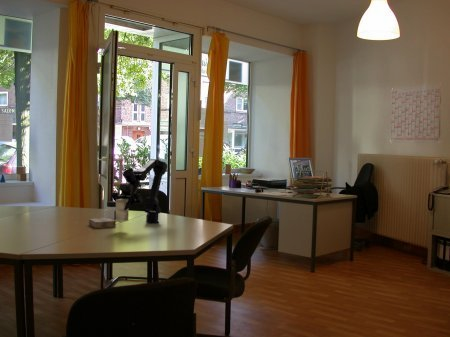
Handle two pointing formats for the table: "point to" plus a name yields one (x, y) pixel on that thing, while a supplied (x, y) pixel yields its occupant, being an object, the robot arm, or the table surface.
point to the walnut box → (102, 223)
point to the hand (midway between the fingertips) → (120, 209)
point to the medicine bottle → (110, 210)
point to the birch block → (121, 210)
